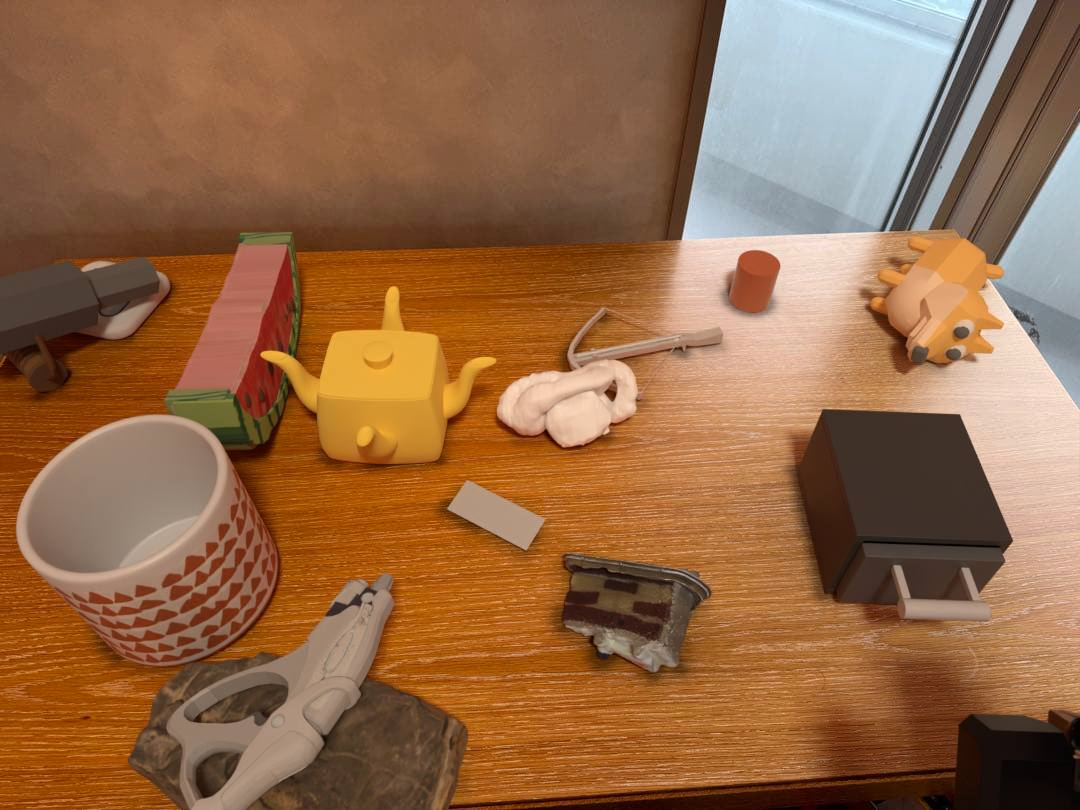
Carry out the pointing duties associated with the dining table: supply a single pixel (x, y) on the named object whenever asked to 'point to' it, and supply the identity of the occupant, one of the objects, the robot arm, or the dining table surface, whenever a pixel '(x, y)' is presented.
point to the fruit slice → (244, 346)
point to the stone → (341, 765)
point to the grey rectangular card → (496, 514)
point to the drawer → (922, 579)
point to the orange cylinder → (754, 280)
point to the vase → (150, 539)
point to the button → (124, 310)
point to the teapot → (382, 392)
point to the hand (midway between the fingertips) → (1054, 718)
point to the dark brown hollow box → (894, 486)
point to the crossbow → (637, 346)
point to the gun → (310, 709)
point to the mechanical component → (62, 309)
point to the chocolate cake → (632, 607)
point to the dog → (940, 300)
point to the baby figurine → (570, 402)
